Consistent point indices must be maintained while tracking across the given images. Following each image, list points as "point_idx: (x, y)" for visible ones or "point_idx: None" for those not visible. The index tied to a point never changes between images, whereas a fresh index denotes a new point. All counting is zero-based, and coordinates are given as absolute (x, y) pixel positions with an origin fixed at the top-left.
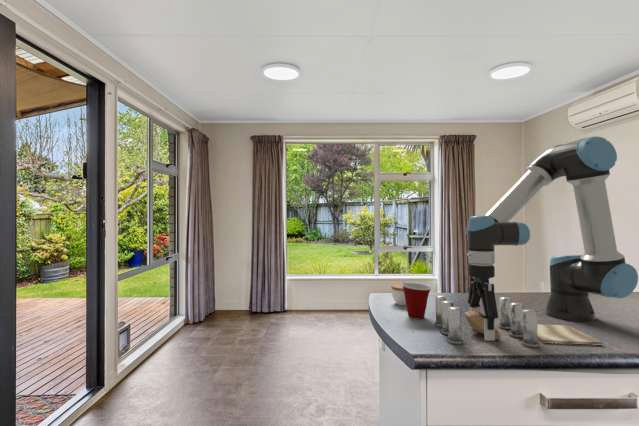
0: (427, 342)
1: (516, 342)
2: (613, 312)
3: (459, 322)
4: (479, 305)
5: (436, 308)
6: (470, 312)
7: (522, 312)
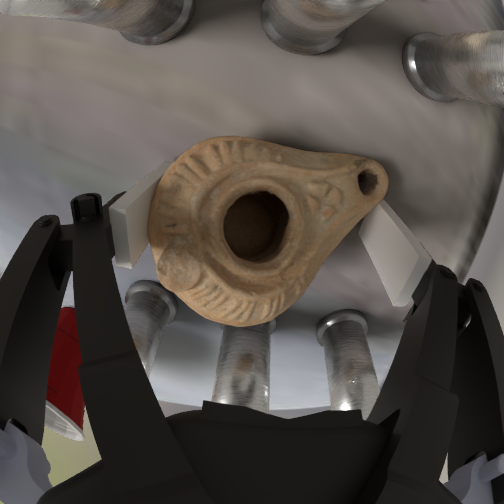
0: (322, 375)
1: (396, 95)
2: None
3: (377, 384)
4: (88, 203)
5: None
6: (241, 313)
7: None
